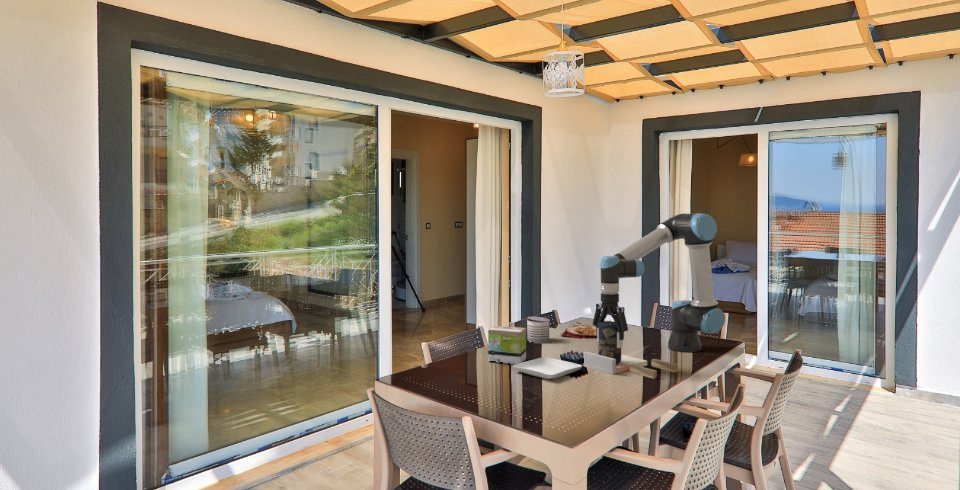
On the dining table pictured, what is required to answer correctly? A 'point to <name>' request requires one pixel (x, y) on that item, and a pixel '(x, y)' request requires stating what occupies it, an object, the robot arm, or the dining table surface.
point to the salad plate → (547, 367)
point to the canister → (608, 340)
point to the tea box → (507, 344)
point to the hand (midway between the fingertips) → (609, 345)
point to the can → (538, 329)
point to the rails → (653, 373)
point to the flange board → (610, 363)
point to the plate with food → (581, 332)
